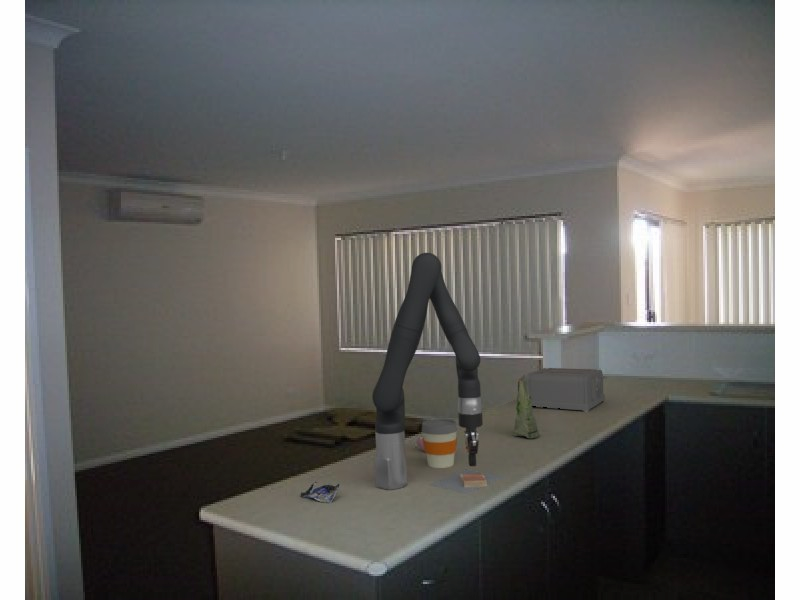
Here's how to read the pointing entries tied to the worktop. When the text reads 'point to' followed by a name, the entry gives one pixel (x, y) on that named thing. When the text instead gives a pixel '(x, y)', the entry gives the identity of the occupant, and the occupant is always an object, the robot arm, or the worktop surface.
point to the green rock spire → (525, 413)
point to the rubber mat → (456, 483)
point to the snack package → (321, 492)
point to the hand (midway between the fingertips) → (472, 465)
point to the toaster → (566, 388)
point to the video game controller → (420, 442)
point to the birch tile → (473, 480)
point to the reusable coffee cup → (439, 442)
